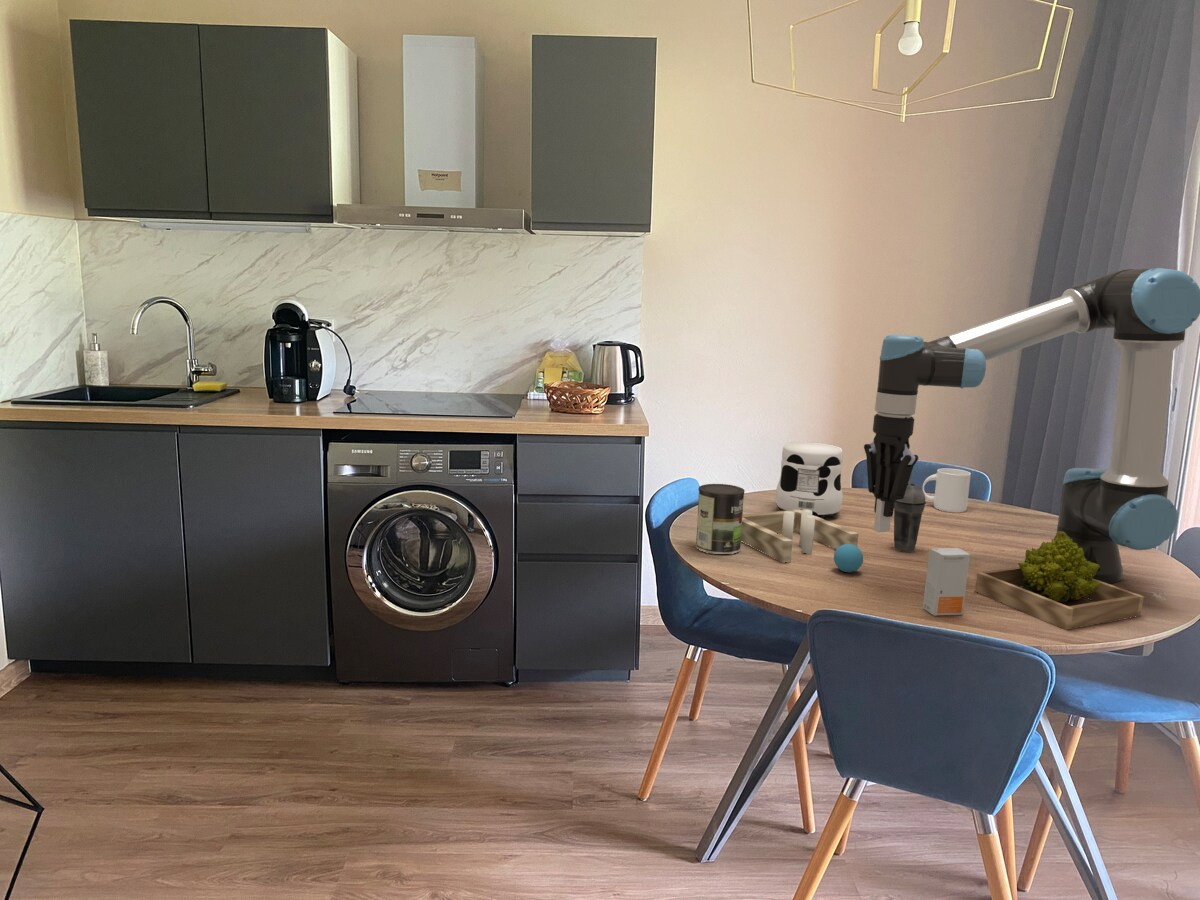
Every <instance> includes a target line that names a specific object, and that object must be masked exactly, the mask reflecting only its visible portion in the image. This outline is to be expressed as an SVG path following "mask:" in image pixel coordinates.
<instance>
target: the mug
mask: <svg viewBox="0 0 1200 900" xmlns="http://www.w3.org/2000/svg"><path fill="white" fill-rule="evenodd" d="M971 475H972V473H971V472H970V471H967V470H964V469H958V468H948V467H947V468H937V471H936V473H934V474H931V475H929V476H927V477H926V478H925V480H924V481H923V483H922V490H923V492H924V495H925V500H928V501H930V502H931V503H933V507H934V508H935V509H936V510H938V509H939V510H938V511H941V510H942V511H941V512H945V511H947V512H946V513H952V512H961V513H964V512H966V511H967V509H968V502H969V494H970V485H971V484H970V483H971ZM930 481H935V489H934V490H935V491H934V495H929V494H927V493H926V491H925V486H926V484H927V483H928V482H930Z"/></svg>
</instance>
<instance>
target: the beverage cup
mask: <svg viewBox="0 0 1200 900" xmlns="http://www.w3.org/2000/svg"><path fill="white" fill-rule="evenodd" d="M926 504H927V502H926V498H925V495H924V492H923V488H921V487H920V486H919V485H918V484H914V483H912V475H911V476H910V479H909V482H908V485H907V489H906V492H905V495H904V498H903V499H900V500H896V501H895V503H894V509H893V510H894V511H893V516H894V518H893V544H894V547H893V549H894V548H895V549H894V550H896V551H898V550H900V551H899V552H903V551H905V553H913V552H915V548H916V545H917V541H918V535H919V531H920V526H921V521H922V515H923V513H924V510H925V507H926V506H925V505H926ZM912 551H913V552H912Z"/></svg>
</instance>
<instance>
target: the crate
mask: <svg viewBox="0 0 1200 900" xmlns="http://www.w3.org/2000/svg"><path fill="white" fill-rule="evenodd" d="M1024 578H1025V577H1024V576H1023V572H1022V571H1021V569H1020V567H1019V566H1015V567H1013V566H1012V567H1007V568H999V569H994V570H993V569H991V570H987V571H979V572H978V571H977V572H976V581H975V586H974V592H975V591H976V592H975V593H977V592H978V593H977V594H980V595H983V596H984V597H987V598H989V599H992V600H995V601H996V602H999V603H1001V602H1002V603H1001V604H1004V605H1007V606H1009V607H1010V608H1013V609H1016V610H1018V611H1020V612H1023V613H1024V614H1028V615H1030V616H1032V617H1035V618H1037V619H1040V620H1042V621H1043V622H1047V623H1048V624H1051V623H1052V625H1053V624H1054V626H1056V625H1057V626H1056V627H1058V626H1059V627H1058V628H1061V627H1062V628H1061V629H1063V628H1064V630H1065V629H1070V630H1073V629H1072V628H1075V629H1077V628H1076V627H1080V628H1083V627H1082V626H1086V627H1090V626H1089V625H1091V626H1095V625H1094V624H1097V625H1101V624H1100V623H1102V624H1106V623H1105V622H1107V623H1111V622H1110V621H1113V622H1116V621H1115V620H1118V621H1120V620H1119V619H1123V620H1125V619H1124V618H1129V619H1131V618H1130V617H1134V618H1136V617H1135V616H1140V617H1141V615H1142V611H1143V610H1142V609H1143V604H1144V595H1141V594H1138V593H1135V592H1133V591H1130V590H1127V589H1123V588H1121V587H1118V586H1115V585H1113V584H1111V583H1104V582H1102V581H1099V580H1096V579H1092V580H1093V581H1096V582H1098V583H1101V585H1100V586H1099V587H1098V588H1097V589H1096V590H1095V591H1094V592H1092V594H1088V597H1086V598H1085V599H1088V598H1089V599H1088V600H1090V599H1091V600H1090V601H1092V602H1088V603H1087V602H1086V603H1081V604H1075V605H1070V606H1069V605H1066V604H1063V603H1061V602H1060V601H1057V602H1056V601H1054V600H1052V599H1048V598H1046V597H1043V596H1041V595H1038V594H1036V593H1033V592H1031V591H1028V590H1025V589H1023V588H1022V587H1023V584H1025V583H1024V582H1023V580H1024ZM1093 600H1094V601H1093Z"/></svg>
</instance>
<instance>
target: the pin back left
mask: <svg viewBox="0 0 1200 900" xmlns="http://www.w3.org/2000/svg"><path fill="white" fill-rule="evenodd" d="M793 526H794V512H792V511H784V516H783V529H782V533H781V535H782V536H784V537H786V538H788V539H790V540H792V541H793V538H794V537H793V536H794V535H793V534H794V532H793Z"/></svg>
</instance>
